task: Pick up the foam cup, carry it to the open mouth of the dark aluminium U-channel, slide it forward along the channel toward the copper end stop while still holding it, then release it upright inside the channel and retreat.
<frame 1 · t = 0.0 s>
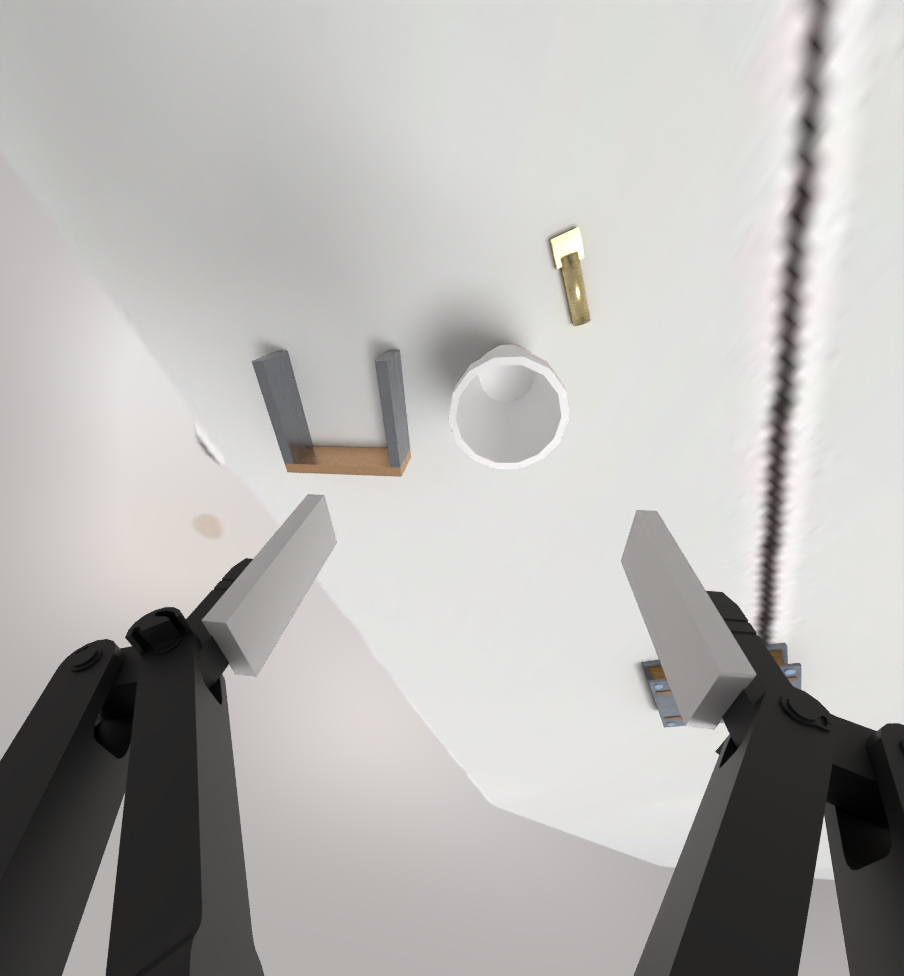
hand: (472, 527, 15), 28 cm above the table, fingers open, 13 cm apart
foam cup: (506, 373, 39), on the table
book: (712, 675, 63), on the table
channel: (347, 402, 43), on the table
brass key: (574, 289, 34), on the table
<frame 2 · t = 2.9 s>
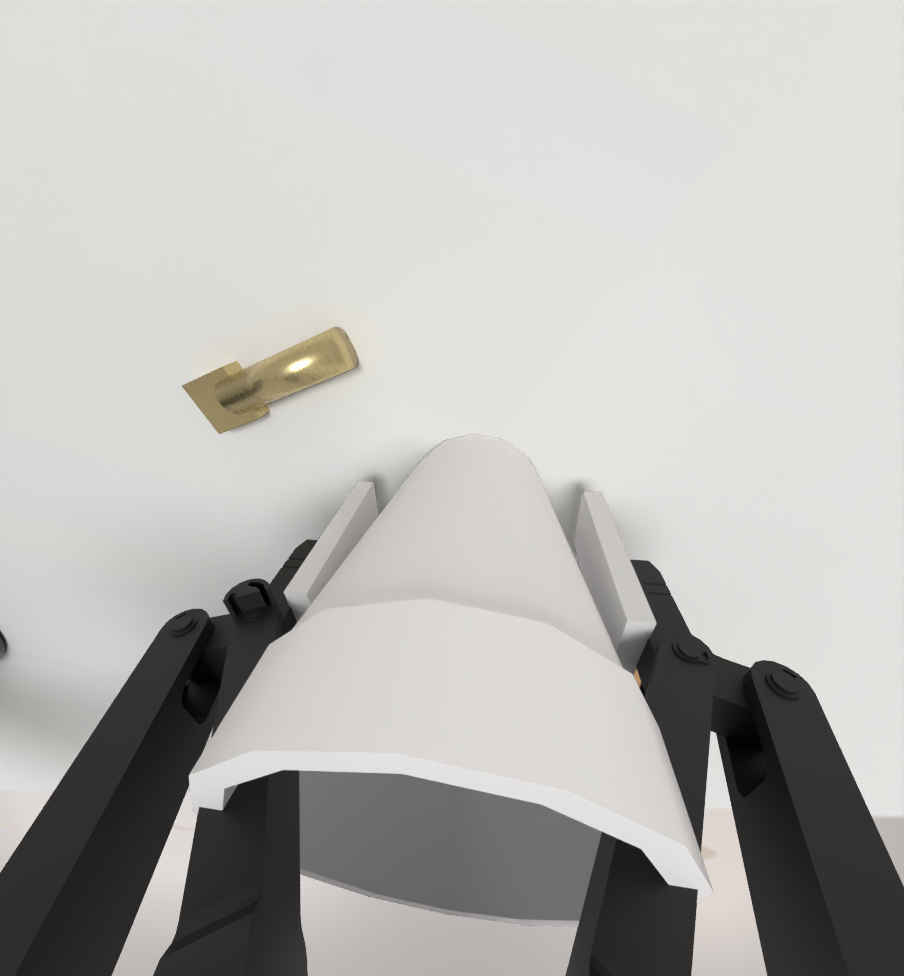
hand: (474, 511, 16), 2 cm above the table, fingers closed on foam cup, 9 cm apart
foam cup: (476, 490, 18), on the table, touching gripper
brass key: (294, 368, 15), on the table
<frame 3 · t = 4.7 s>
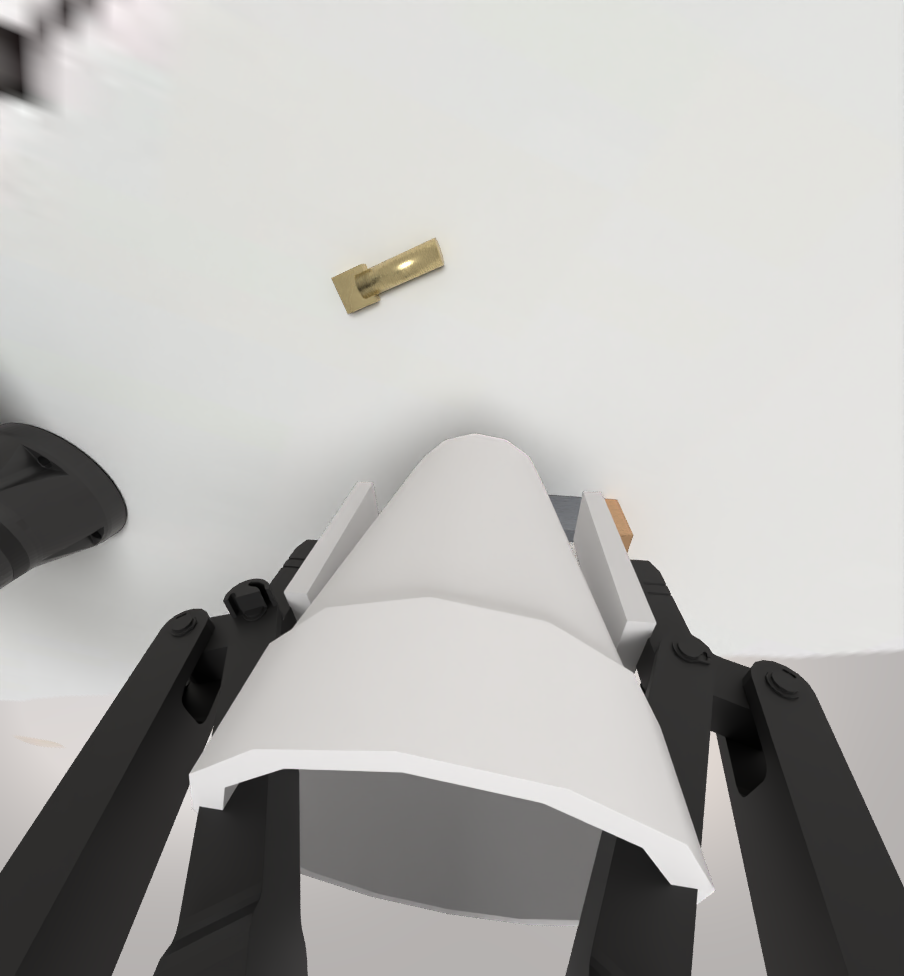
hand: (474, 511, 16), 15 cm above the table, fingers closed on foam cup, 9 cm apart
foam cup: (477, 490, 18), point 13 cm above the table, touching gripper
channel: (527, 551, 37), on the table
brass key: (401, 269, 25), on the table
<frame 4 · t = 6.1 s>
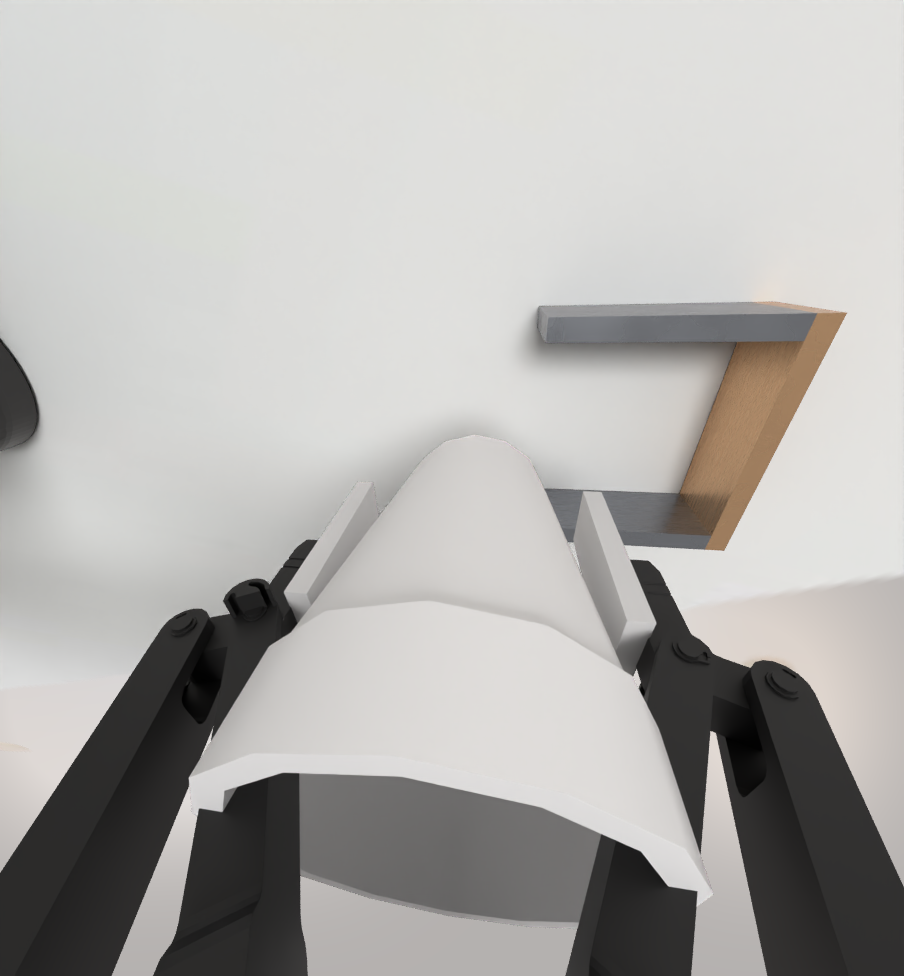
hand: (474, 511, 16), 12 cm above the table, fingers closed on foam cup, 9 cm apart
foam cup: (476, 491, 18), point 10 cm above the table, touching gripper
channel: (615, 419, 25), on the table
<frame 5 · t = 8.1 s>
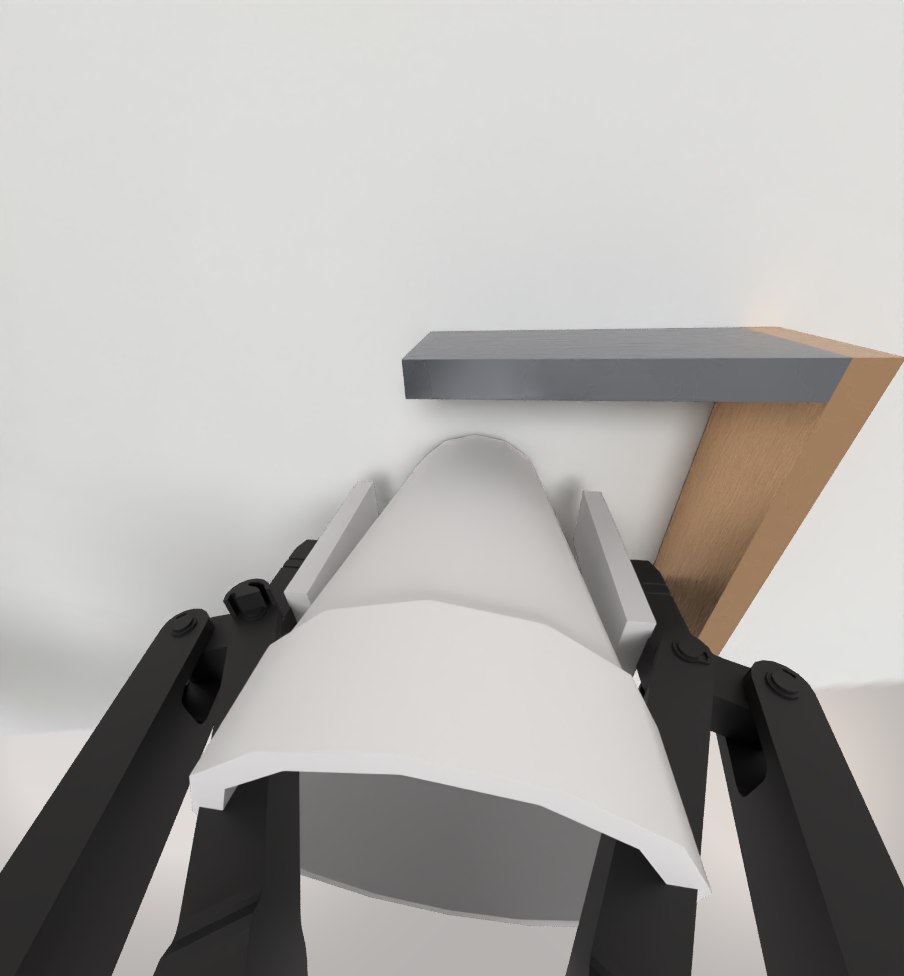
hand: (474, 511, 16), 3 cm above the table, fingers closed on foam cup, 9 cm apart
foam cup: (476, 491, 18), point 1 cm above the table, touching gripper
channel: (556, 483, 18), on the table
when the fingers open (2 cm above the table, at t = 9.6 s): foam cup stays where it is, on the table.
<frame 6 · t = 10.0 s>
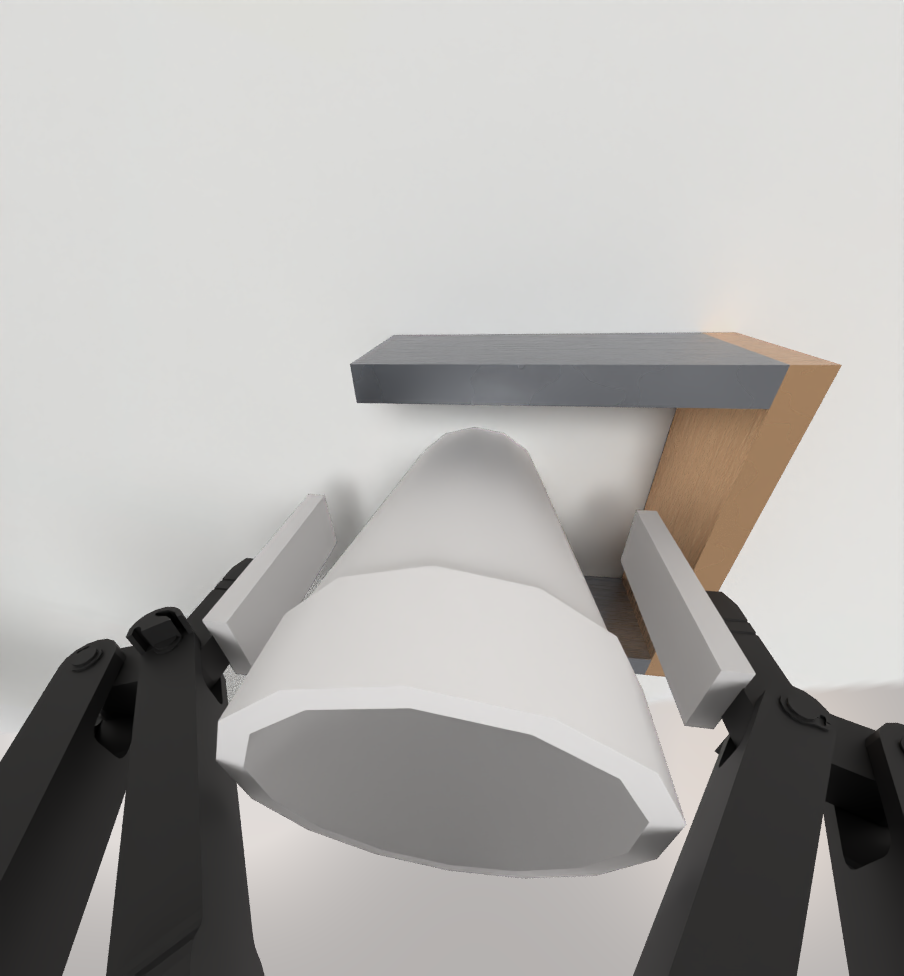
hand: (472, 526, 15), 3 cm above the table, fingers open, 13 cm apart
foam cup: (476, 482, 18), on the table
channel: (524, 486, 18), on the table
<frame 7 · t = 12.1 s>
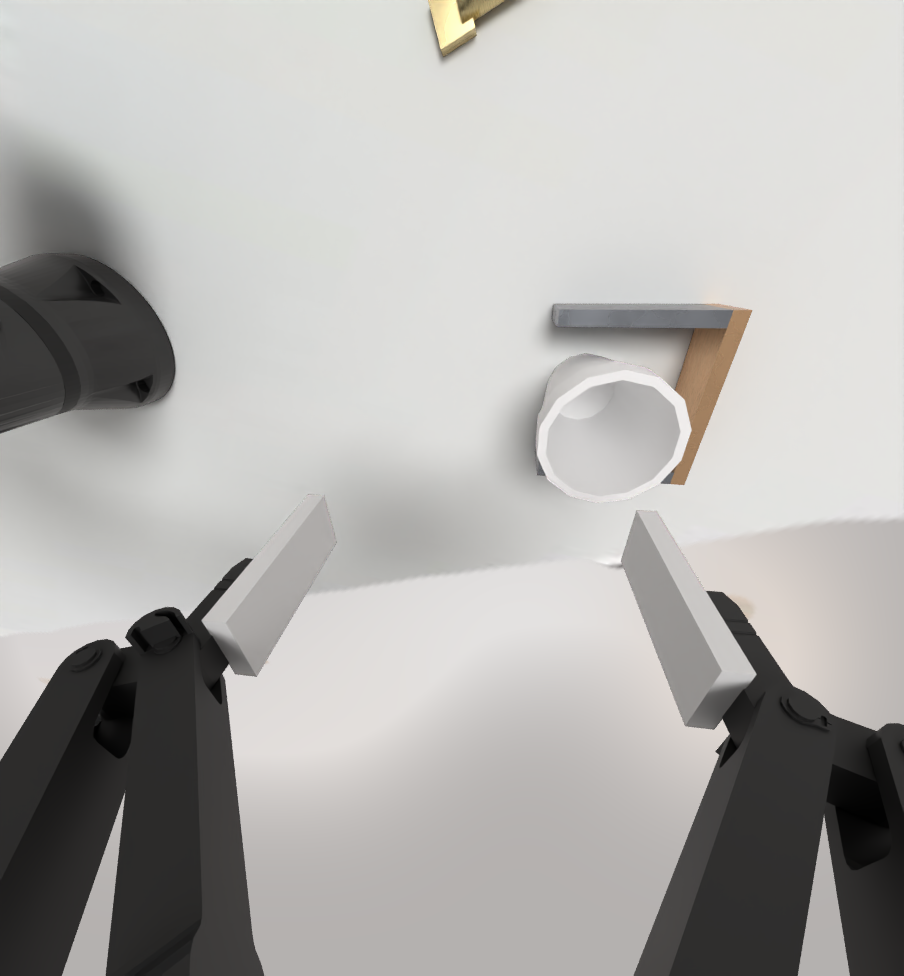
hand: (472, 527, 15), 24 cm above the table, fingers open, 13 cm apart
foam cup: (580, 387, 34), on the table
channel: (607, 388, 34), on the table
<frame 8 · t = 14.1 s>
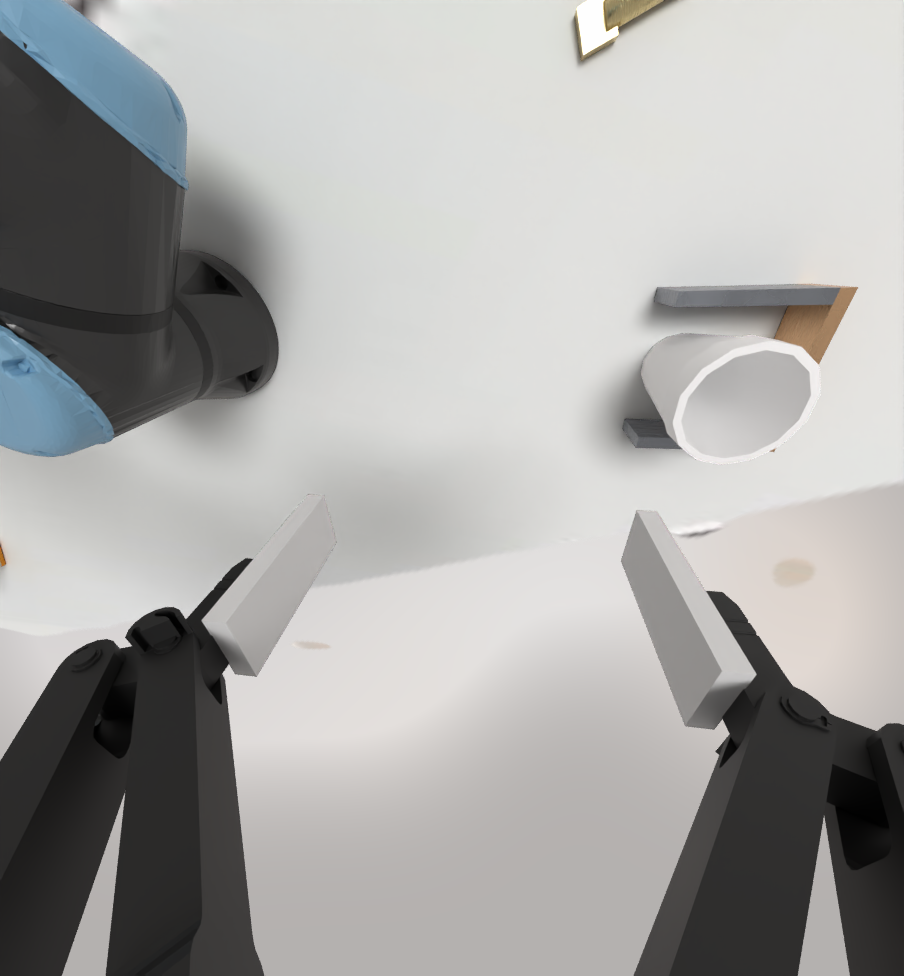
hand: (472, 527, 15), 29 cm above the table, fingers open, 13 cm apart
foam cup: (672, 365, 37), on the table
channel: (699, 365, 37), on the table
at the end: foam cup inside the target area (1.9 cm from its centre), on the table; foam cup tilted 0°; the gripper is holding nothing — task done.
